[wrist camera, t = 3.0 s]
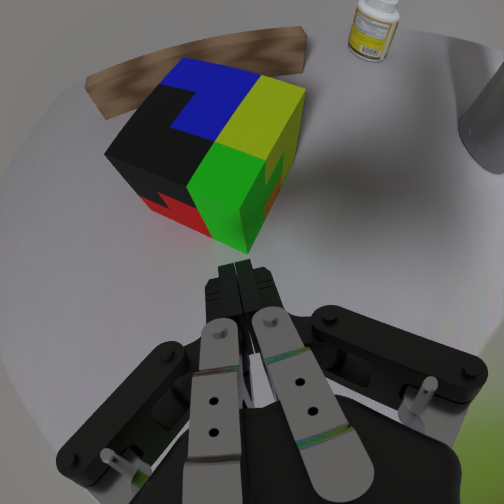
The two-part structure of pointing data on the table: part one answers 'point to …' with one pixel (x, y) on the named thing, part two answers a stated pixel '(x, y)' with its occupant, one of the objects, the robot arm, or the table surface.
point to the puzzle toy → (212, 148)
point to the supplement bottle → (373, 29)
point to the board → (210, 50)
